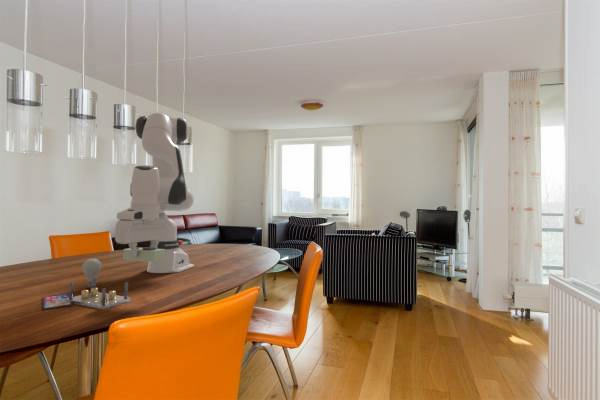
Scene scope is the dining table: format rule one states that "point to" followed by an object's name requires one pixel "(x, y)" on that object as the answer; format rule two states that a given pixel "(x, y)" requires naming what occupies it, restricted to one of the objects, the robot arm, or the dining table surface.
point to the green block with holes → (145, 254)
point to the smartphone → (56, 302)
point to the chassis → (98, 297)
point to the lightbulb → (91, 270)
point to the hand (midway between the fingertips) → (144, 254)
